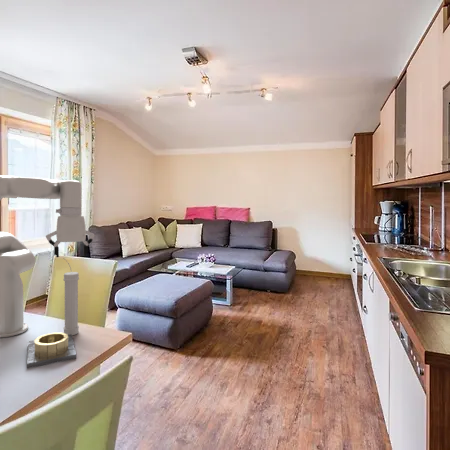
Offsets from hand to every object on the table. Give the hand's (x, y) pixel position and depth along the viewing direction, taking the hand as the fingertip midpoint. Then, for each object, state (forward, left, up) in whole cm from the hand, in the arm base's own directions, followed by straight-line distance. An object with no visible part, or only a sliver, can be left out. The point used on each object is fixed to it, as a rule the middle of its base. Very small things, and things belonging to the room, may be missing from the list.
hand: (71, 256), depth 124 cm
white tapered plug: (0, 0, -31) cm, 31 cm away
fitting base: (+14, -7, -31) cm, 35 cm away
